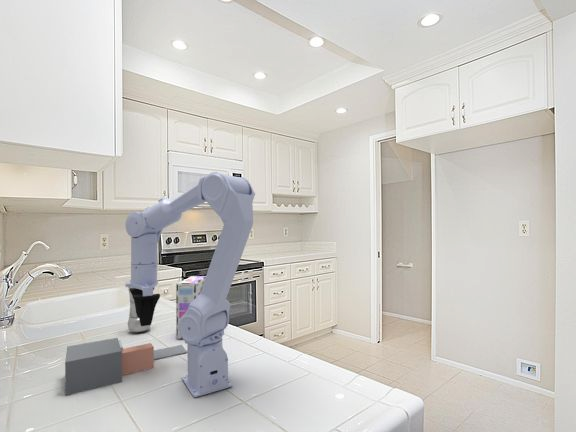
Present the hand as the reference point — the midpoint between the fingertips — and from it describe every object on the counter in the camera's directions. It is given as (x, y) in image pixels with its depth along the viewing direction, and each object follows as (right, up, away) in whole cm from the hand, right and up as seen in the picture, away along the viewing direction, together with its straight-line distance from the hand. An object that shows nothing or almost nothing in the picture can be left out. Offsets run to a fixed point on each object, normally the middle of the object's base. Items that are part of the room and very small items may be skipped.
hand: (143, 320), depth 78 cm
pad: (0, -11, +7) cm, 13 cm away
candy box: (+5, -12, +24) cm, 27 cm away
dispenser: (-8, -11, -6) cm, 15 cm away
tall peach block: (-3, -11, -3) cm, 12 cm away
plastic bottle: (-12, -12, +26) cm, 31 cm away
